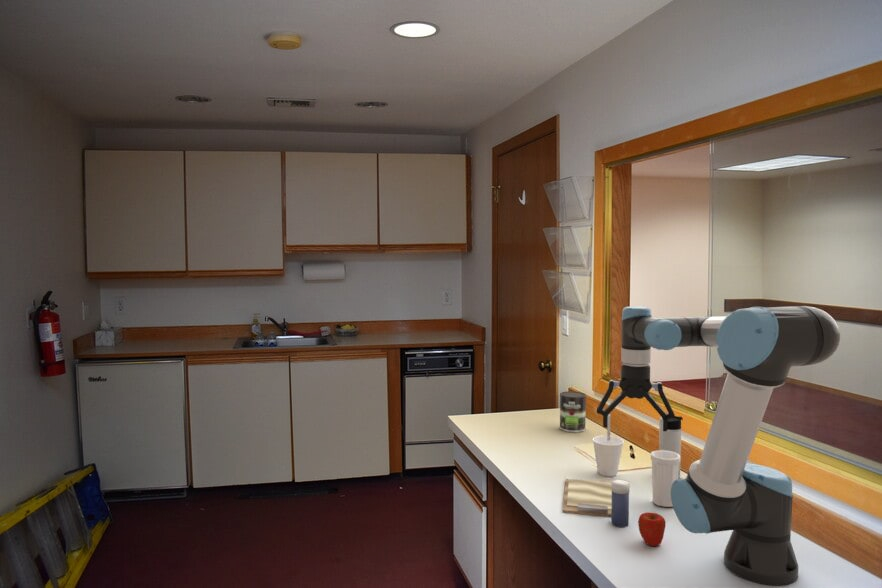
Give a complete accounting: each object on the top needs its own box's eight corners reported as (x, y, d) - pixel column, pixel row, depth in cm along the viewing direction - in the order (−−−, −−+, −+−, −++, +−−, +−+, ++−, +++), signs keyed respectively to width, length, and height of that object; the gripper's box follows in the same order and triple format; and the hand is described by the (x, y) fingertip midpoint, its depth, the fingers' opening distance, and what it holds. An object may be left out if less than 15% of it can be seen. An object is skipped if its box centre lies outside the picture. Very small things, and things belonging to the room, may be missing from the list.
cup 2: (660, 511, 175) (661, 460, 174) (643, 499, 183) (644, 451, 181) (685, 507, 177) (686, 458, 176) (667, 496, 185) (669, 448, 184)
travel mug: (682, 483, 195) (684, 420, 193) (660, 482, 196) (661, 419, 194) (679, 476, 201) (680, 414, 199) (657, 474, 202) (659, 413, 200)
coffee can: (584, 433, 246) (585, 398, 245) (558, 431, 249) (558, 396, 248) (586, 426, 256) (587, 392, 255) (561, 424, 259) (561, 390, 258)
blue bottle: (629, 528, 164) (630, 487, 164) (611, 526, 165) (611, 485, 165) (628, 520, 169) (628, 480, 168) (610, 519, 170) (611, 479, 169)
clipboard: (622, 517, 171) (623, 511, 171) (562, 512, 174) (562, 506, 174) (618, 484, 194) (618, 478, 194) (565, 480, 198) (565, 474, 198)
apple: (633, 543, 156) (634, 514, 155) (645, 535, 160) (646, 507, 160) (657, 552, 151) (658, 522, 151) (669, 543, 156) (670, 514, 155)
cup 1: (588, 476, 201) (588, 442, 201) (596, 466, 210) (596, 433, 209) (619, 481, 197) (620, 446, 196) (626, 471, 206) (626, 438, 205)
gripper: (683, 363, 171) (681, 440, 172) (588, 359, 177) (588, 433, 179) (686, 368, 163) (684, 448, 165) (587, 364, 170) (587, 441, 171)
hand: (634, 441), depth 172 cm, fingers open, 13 cm apart
